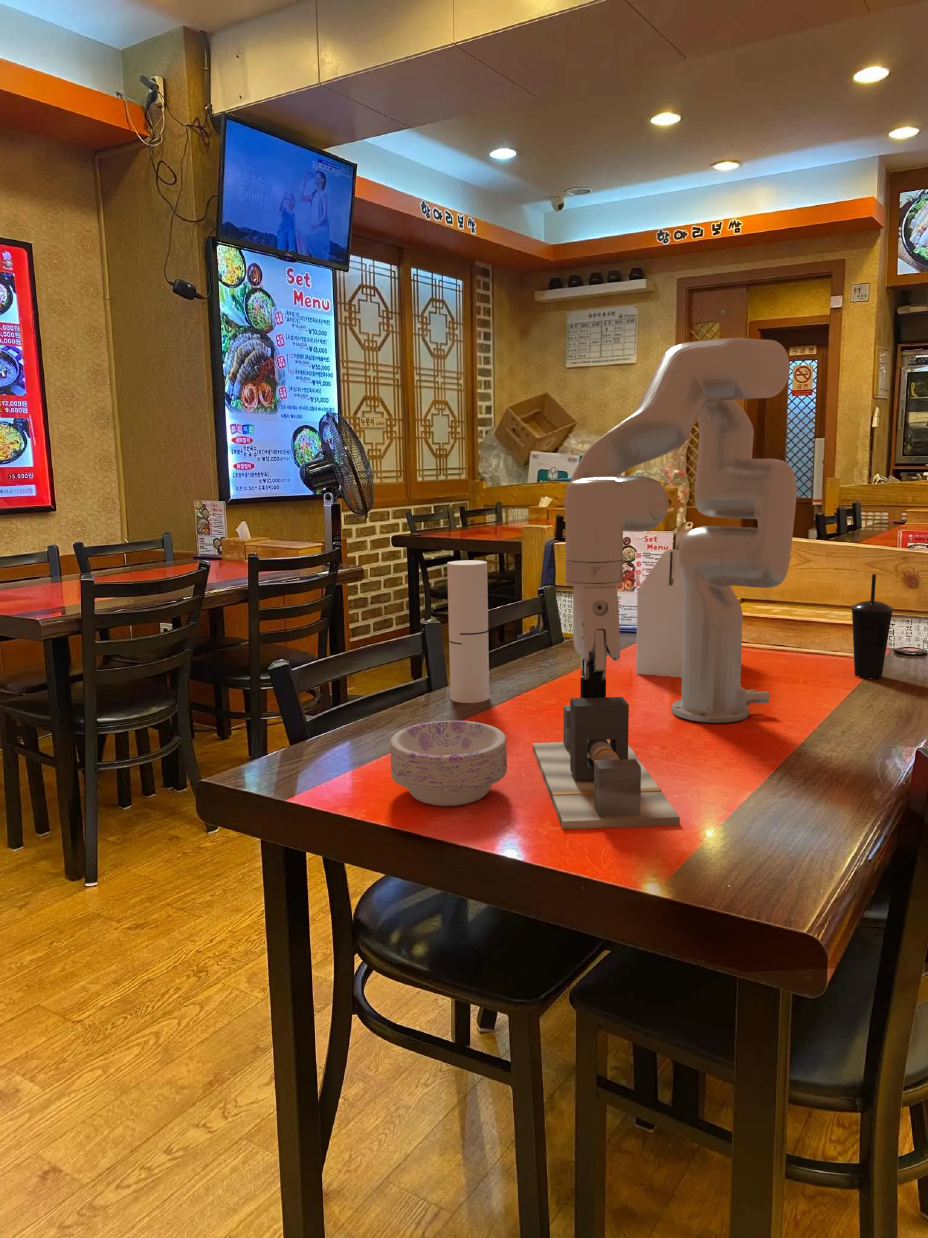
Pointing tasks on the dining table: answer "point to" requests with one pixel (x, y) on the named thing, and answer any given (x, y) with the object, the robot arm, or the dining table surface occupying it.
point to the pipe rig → (602, 787)
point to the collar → (596, 730)
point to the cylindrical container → (468, 631)
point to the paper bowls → (448, 761)
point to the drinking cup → (870, 635)
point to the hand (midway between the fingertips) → (593, 706)
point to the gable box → (661, 616)
